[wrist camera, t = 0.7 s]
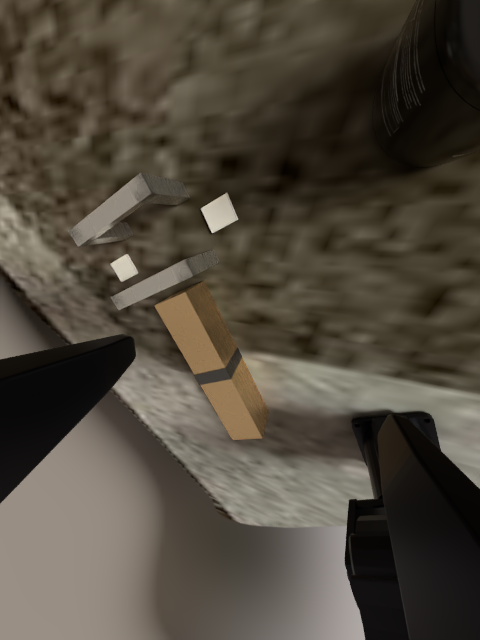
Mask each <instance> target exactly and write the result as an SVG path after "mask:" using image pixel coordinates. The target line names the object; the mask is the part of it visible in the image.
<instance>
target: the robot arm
mask: <svg viewBox="0 0 480 640" xmlns="http://www.w3.org/2000/svg"><path fill="white" fill-rule="evenodd" d="M135 357H136V351H135V343H134V339H133V337H131V336H128V335H125V334H121V335H116V336H111V337H106V338H101V339H97V340H92V341H87V342H82V343H77V344H73V345H68V346H63V347H59V348H53V349H49V350H44V351H39V352H34V353H29V354H25V355H20V356H15V357H10V358H6V359H1V360H0V503H1V502H2V501H3V500H4V499H5V498H6V497H7V496H8V495H9V494H10V493H11V492H12V491H13V490H14V489H15V488H16V487H17V486H18V485H19V484H20V483H21V482H22V481H23V479H24V478H25V477H26V476H27V475H28V474H29V473H30V472H31V471H32V470H33V469H34V468H35V467H36V466H37V465H38V464H39V463H40V462H41V461H42V460H43V459H44V458H45V457H46V456H47V455H48V454H49V453H50V451H51V450H53V449H54V448H55V447H56V445H57V444H58V443H59V442H60V441H61V440H62V439H63V438H64V437H65V436H66V435H67V434H68V433H69V432H70V431H71V430H72V429H73V428H74V427H75V426H76V425H77V424H78V423H79V422H80V421H81V419H83V418H84V417H85V415H87V413H88V412H89V411H90V410H91V409H92V408H93V407H94V406H95V405H96V404H97V403H98V402H99V401H100V400H101V399H102V398H103V397H104V396H105V395H106V394H107V393H108V392H109V390H110V389H111V388H112V387H113V386H114V384H115V383H116V382H117V381H118V379H119V378H120V377H121V376H122V374H123V373H124V372H125V371H126V370H127V368H128V367H129V366H130V365H131V363H132V362H133V361H134V359H135ZM351 424H352V428H353V431H354V433H355V436H356V439H357V441H358V444H359V447H360V450H361V452H362V455H363V458H364V460H365V463H366V465H367V466H368V470H369V475H370V480H371V485H372V490H373V495H374V499H367V500H357V499H351V500H349V508H348V520H347V534H346V549H345V566H346V569H347V576H348V579H349V581H350V585H351V589H352V592H353V595H354V598H355V601H356V603H357V606H358V608H359V610H360V614H361V619H362V623H363V627H364V633H365V640H480V489H479V488H478V487H477V486H476V485H475V484H474V483H473V482H472V481H471V480H470V479H469V478H468V477H467V476H466V475H465V474H464V473H463V472H462V471H461V470H460V469H459V468H458V467H457V466H456V465H455V464H454V463H453V462H452V461H451V460H450V459H449V458H448V457H447V456H446V455H445V454H443V453H442V452H441V449H440V445H439V441H438V436H437V432H436V427H435V423H434V420H433V418H432V416H431V415H430V414H428V413H416V414H403V415H396V414H389V415H388V416H378V417H366V418H355V419H352V420H351Z"/></svg>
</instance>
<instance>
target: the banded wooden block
mask: <svg viewBox="0 0 480 640" xmlns="http://www.w3.org/2000/svg"><path fill="white" fill-rule="evenodd" d="M154 306H155V308H156V309H157V311H158V313H159V315H160V316H161V318H162V320H163V322H164V323H165V325H166V327H167V328H168V330H169V332H170V334H171V335H172V337H173V339H174V340H175V342H176V344H177V346H178V347H179V349H180V351H181V352H182V354H183V356H184V358H185V359H186V361H187V363H188V364H189V366H190V368H191V370H192V371H193V373H194V376H195V378H196V380H197V381H198V383H199V385H201V387H202V389H203V390H204V392H205V394H206V395H207V397H208V399H209V401H210V402H211V404H212V406H213V407H214V409H215V411H216V413H217V414H218V416H219V418H220V419H221V421H222V423H223V425H224V426H225V428H226V430H227V431H228V433H229V435H230V437H231V438H232V440H242V439H261V438H263V434H264V430H265V426H266V422H267V417H268V413H269V411H268V409H267V407H266V405H265V403H264V401H263V399H262V397H261V395H260V392H259V390H258V388H257V386H256V384H255V382H254V380H253V378H252V376H251V374H250V372H249V370H248V368H247V366H246V364H245V362H244V360H243V358H242V356H241V354H240V352H239V349H238V347H237V346H236V344H235V342H234V340H233V338H232V336H231V334H230V332H229V330H228V328H227V326H226V324H225V322H224V320H223V318H222V316H221V314H220V312H219V310H218V308H217V306H216V304H215V302H214V300H213V298H212V296H211V293H210V291H209V289H208V287H207V285H206V283H205V281H202V282H200V283H198V284H195V285H193V286H191V287H189V288H186V289H184V290H182V291H179V292H177V293H175V294H173V295H172V296H170V297H168V298H166V299H165V300H163V301H161V302H159V303H158V304H156V305H154Z"/></svg>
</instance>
